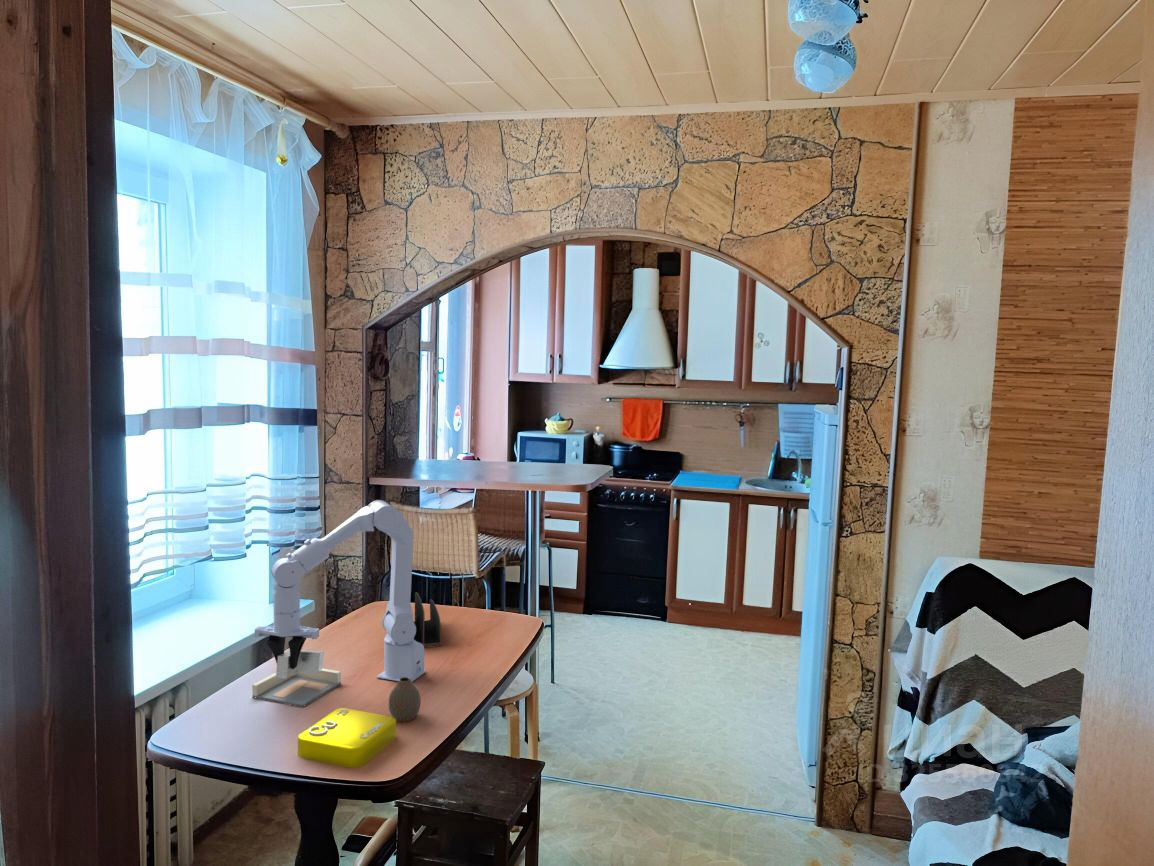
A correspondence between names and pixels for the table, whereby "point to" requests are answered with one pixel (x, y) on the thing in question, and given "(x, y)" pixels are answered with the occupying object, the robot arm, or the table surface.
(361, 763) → the element tile
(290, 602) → the robot arm
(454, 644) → the table surface
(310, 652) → the bracket
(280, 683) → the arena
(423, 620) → the letter holder
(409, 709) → the vase
